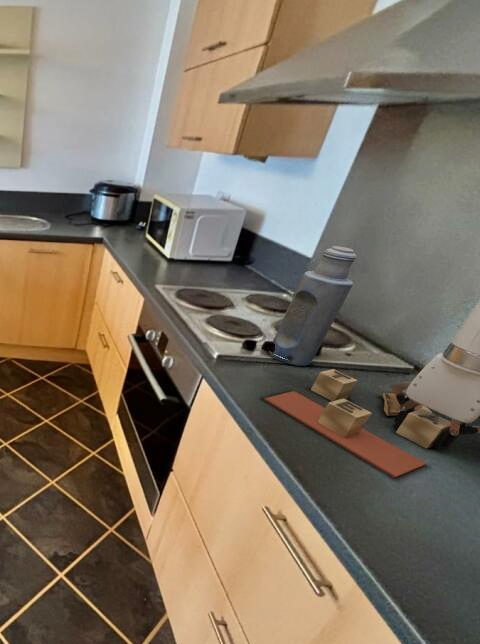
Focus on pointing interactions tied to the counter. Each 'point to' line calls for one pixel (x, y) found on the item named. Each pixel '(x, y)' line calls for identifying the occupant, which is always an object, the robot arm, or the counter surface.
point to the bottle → (314, 307)
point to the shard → (396, 405)
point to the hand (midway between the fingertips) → (418, 436)
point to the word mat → (359, 444)
